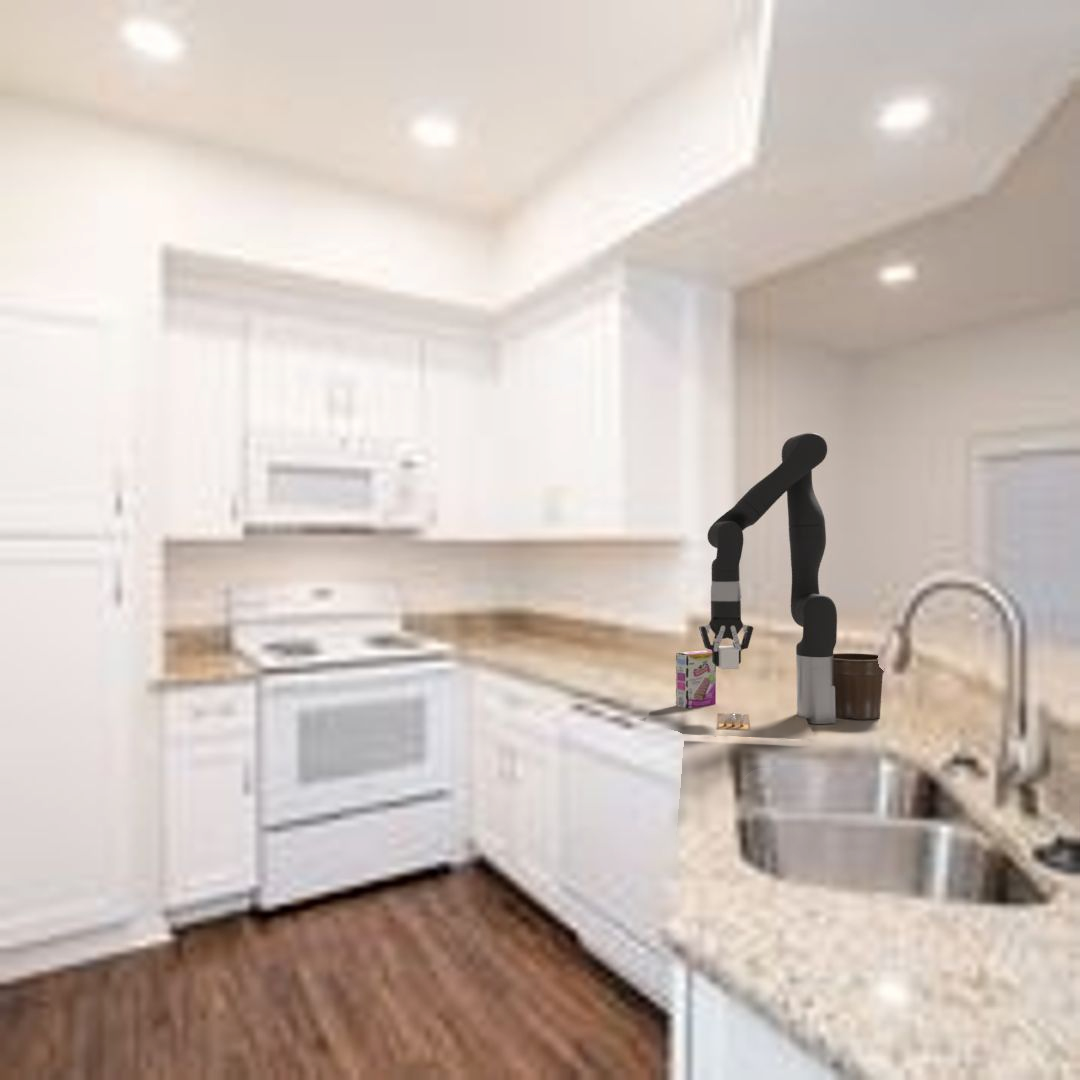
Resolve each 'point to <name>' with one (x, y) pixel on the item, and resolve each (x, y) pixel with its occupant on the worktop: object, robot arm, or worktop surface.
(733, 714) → the header pins
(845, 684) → the plant pot
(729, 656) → the connector housing
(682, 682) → the candy bar box
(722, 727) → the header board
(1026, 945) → the worktop surface
